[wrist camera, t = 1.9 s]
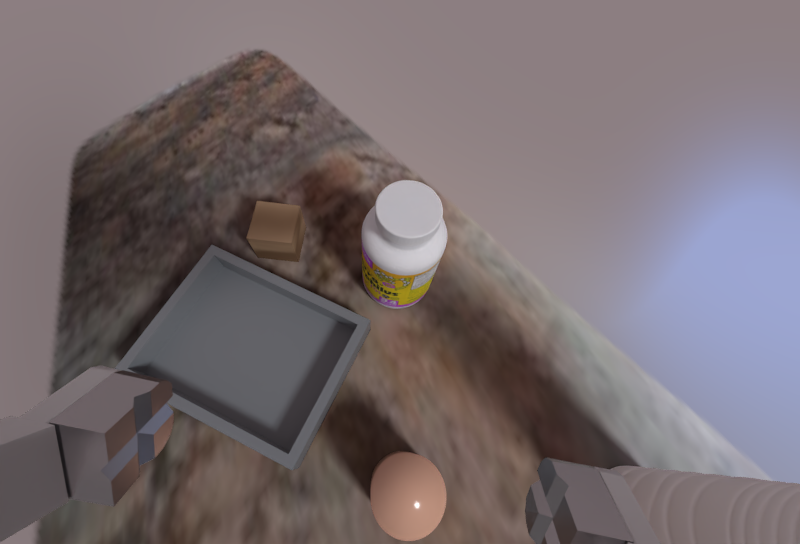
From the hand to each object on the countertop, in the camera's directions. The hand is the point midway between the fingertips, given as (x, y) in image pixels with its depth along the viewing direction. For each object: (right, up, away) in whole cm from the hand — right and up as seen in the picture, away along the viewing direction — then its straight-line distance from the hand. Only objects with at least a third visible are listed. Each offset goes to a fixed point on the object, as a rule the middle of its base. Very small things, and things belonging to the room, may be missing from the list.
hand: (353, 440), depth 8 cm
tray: (-12, -4, +25) cm, 28 cm away
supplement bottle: (+1, +3, +30) cm, 30 cm away
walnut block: (-11, +7, +30) cm, 33 cm away
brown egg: (+1, -13, +22) cm, 26 cm away
